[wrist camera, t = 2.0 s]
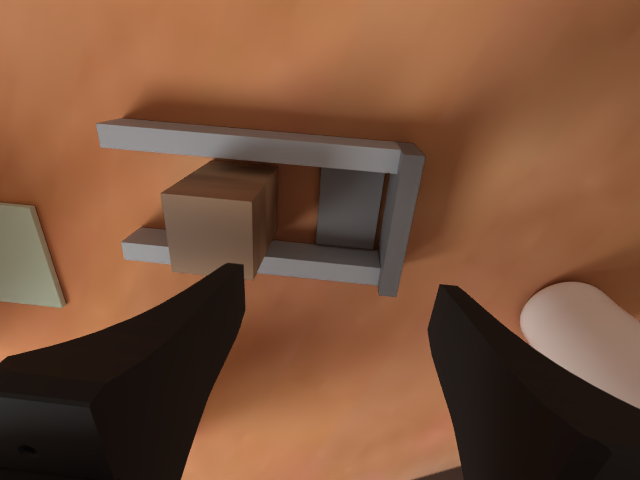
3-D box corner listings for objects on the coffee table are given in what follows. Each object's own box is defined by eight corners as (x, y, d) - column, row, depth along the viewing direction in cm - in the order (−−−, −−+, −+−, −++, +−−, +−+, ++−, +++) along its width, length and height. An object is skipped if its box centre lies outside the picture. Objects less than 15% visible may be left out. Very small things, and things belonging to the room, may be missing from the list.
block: (277, 228, 22) (253, 280, 17) (215, 222, 22) (171, 271, 17) (278, 166, 20) (251, 201, 15) (211, 160, 20) (160, 193, 15)
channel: (390, 268, 22) (396, 297, 20) (143, 243, 23) (114, 268, 20) (413, 143, 19) (425, 156, 16) (121, 118, 20) (82, 126, 17)
